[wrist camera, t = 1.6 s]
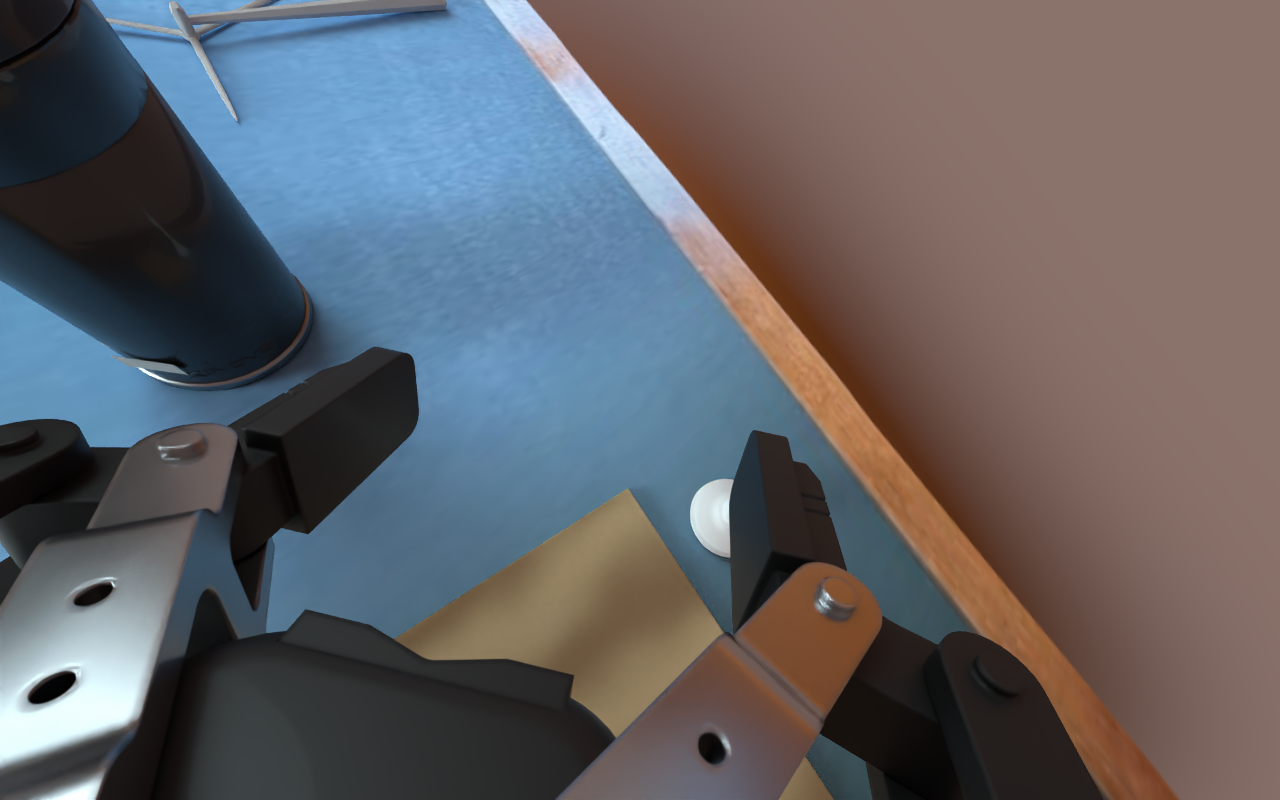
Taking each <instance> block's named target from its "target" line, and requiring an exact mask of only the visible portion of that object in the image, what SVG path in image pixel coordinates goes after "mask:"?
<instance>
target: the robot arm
mask: <svg viewBox="0 0 1280 800" xmlns="http://www.w3.org/2000/svg"><path fill="white" fill-rule="evenodd" d="M0 280H1V281H2V282H4V283H5V284H7V285H9V286H10V287H12V288H14V289H15V290H17V291H18V292H20V293H22V294H23V295H25V296H26V297H28V298H30V299H31V300H33V301H35V302H36V303H38V304H39V305H41V306H43V307H44V308H46V309H48V310H49V311H51V312H52V313H54V314H56V315H57V316H59V317H60V318H62V319H64V320H65V321H67V322H69V323H70V324H72V325H73V326H75V327H77V328H78V329H80V330H82V331H83V332H85V333H86V334H88V335H90V336H91V337H93V338H94V339H96V340H97V341H99V342H101V343H102V344H104V345H105V346H107V347H109V348H110V349H112V350H114V351H115V352H117V353H118V354H120V355H122V356H123V357H125V358H122V357H116V356H112V357H113V358H115V359H117V360H119V361H120V362H122V363H124V364H125V365H127V366H130V367H137V368H140V369H141V370H142V371H144V372H145V373H147V374H148V375H150V376H152V377H153V378H155V379H157V380H159V381H161V382H163V383H165V384H168V385H170V386H174V387H177V388H182V389H187V390H197V391H211V390H222V389H228V388H233V387H237V386H241V385H245V384H248V383H250V382H253V381H256V380H258V379H260V378H262V377H264V376H266V375H268V374H270V373H272V372H273V371H275V370H277V369H278V368H280V367H281V366H282V365H284V364H285V363H286V362H287V361H288V360H290V359H291V358H292V357H293V356H294V355H295V354H296V353H297V351H298V350H299V349H300V348H301V346H302V345H303V343H304V342H305V340H306V338H307V336H308V334H309V331H310V329H311V325H312V319H313V309H312V303H311V300H310V298H309V295H308V293H307V292H306V290H305V289H304V287H303V286H302V284H301V283H300V282H299V280H298V279H297V278H296V277H295V276H294V275H293V274H292V273H291V272H290V271H289V269H288V268H287V267H286V265H285V264H284V263H283V261H282V260H281V258H280V257H279V256H278V254H277V253H276V251H275V250H274V248H273V247H272V246H271V244H270V243H269V241H268V240H267V239H266V237H265V236H264V235H263V233H262V232H261V230H260V229H259V228H258V226H257V225H256V224H255V222H254V221H253V220H252V218H251V217H250V215H249V214H248V213H247V211H246V210H245V209H244V207H243V206H242V204H241V203H240V202H239V200H238V199H237V198H236V196H235V195H234V194H233V192H232V191H231V189H230V188H229V187H228V185H227V184H226V183H225V181H224V180H223V178H222V177H221V176H220V174H219V173H218V172H217V170H216V169H215V168H214V166H213V165H212V163H211V162H210V161H209V159H208V158H207V157H206V155H205V154H204V152H203V151H202V150H201V148H200V147H199V146H198V144H197V143H196V142H195V140H194V139H193V137H192V136H191V135H190V133H189V132H188V131H187V129H186V128H185V126H184V125H183V124H182V122H181V121H180V120H179V118H178V117H177V115H176V114H175V113H174V111H173V110H172V109H171V107H170V106H169V105H168V103H167V102H166V100H165V99H164V98H163V96H162V95H161V94H160V92H159V91H158V89H157V88H156V87H155V85H154V84H153V83H152V81H151V80H150V79H149V77H148V76H147V74H146V73H145V72H144V70H143V69H142V68H141V66H140V65H139V63H138V62H137V61H136V59H135V58H134V57H133V56H132V55H131V53H130V52H129V50H128V49H127V48H126V46H125V45H124V44H123V42H122V41H121V40H120V38H119V37H118V35H117V34H116V33H115V31H114V30H113V29H112V27H111V26H110V24H109V23H108V22H107V20H106V19H105V18H104V16H103V15H102V13H101V12H100V11H99V9H98V8H97V7H96V5H95V4H94V2H93V1H92V0H0ZM418 416H419V406H418V395H417V385H416V374H415V364H414V360H413V358H412V356H411V355H410V354H408V353H403V352H399V351H394V350H390V349H385V348H380V347H373V348H370V349H369V350H367V351H365V352H364V353H362V354H360V355H359V356H357V357H356V358H354V359H352V360H351V361H349V362H346V363H343V364H340V365H337V366H334V367H330V368H327V369H324V370H322V371H320V372H318V373H317V374H315V375H313V376H312V377H310V378H308V379H307V380H305V381H304V383H303V384H298V385H296V386H295V387H293V388H291V389H289V390H288V392H287V394H286V393H283V394H281V395H279V396H278V397H276V398H274V399H272V400H271V401H269V402H267V403H266V404H264V405H262V406H261V407H259V408H257V409H255V410H254V411H252V412H250V413H249V414H247V415H245V416H244V417H242V418H240V419H238V420H237V421H235V422H233V423H232V424H230V425H228V426H225V425H221V424H214V423H197V424H188V425H182V426H177V427H173V428H169V429H165V430H162V431H160V432H157V433H154V434H152V435H150V436H147V437H146V438H144V439H142V440H140V441H139V442H137V443H136V444H134V445H133V446H132V447H131V448H121V447H89V445H88V443H87V441H86V439H85V437H84V436H83V434H82V432H81V430H80V428H79V427H78V426H77V425H76V424H74V423H72V422H69V421H65V420H58V419H37V420H27V421H21V422H14V423H10V424H5V425H1V426H0V543H1V544H2V546H3V547H4V548H5V550H6V551H7V552H8V554H9V555H10V557H8V558H6V559H5V560H3V561H2V562H0V800H779V798H780V796H781V795H782V793H783V791H784V790H785V788H786V787H787V785H788V783H789V782H790V780H791V778H792V777H793V775H794V774H795V772H796V770H797V769H798V767H799V765H800V764H801V762H802V760H803V759H804V757H805V756H806V754H807V752H808V751H809V749H810V747H811V746H812V744H813V742H814V741H815V739H816V738H817V736H818V734H819V733H820V734H821V735H823V736H825V737H826V738H828V739H830V740H831V741H833V742H835V743H836V744H838V745H840V746H841V747H843V748H845V749H846V750H848V751H849V752H851V753H853V754H854V755H856V756H858V757H859V758H861V759H863V760H864V761H866V767H867V772H868V777H869V783H870V788H871V793H872V798H873V800H1103V798H1102V796H1101V794H1100V792H1099V791H1098V789H1097V787H1096V785H1095V783H1094V781H1093V779H1092V778H1091V776H1090V774H1089V772H1088V770H1087V768H1086V767H1085V765H1084V763H1083V761H1082V759H1081V757H1080V755H1079V754H1078V752H1077V750H1076V748H1075V746H1074V744H1073V742H1072V741H1071V739H1070V737H1069V735H1068V733H1067V731H1066V730H1065V728H1064V726H1063V724H1062V722H1061V720H1060V718H1059V717H1058V715H1057V713H1056V711H1055V709H1054V707H1053V706H1052V704H1051V702H1050V700H1049V698H1048V696H1047V694H1046V693H1045V691H1044V689H1043V688H1042V686H1041V684H1040V683H1039V682H1038V680H1037V679H1036V678H1035V676H1034V675H1033V674H1032V673H1031V672H1030V671H1029V670H1028V668H1027V667H1026V666H1025V665H1024V664H1022V663H1021V662H1020V661H1019V660H1018V659H1017V658H1016V657H1015V656H1013V655H1012V654H1011V653H1010V652H1008V651H1007V650H1006V649H1004V648H1003V647H1001V646H1000V645H998V644H996V643H994V642H993V641H991V640H989V639H987V638H985V637H982V636H980V635H977V634H974V633H969V632H961V631H958V632H952V633H950V634H948V635H947V636H946V637H944V638H943V640H942V641H941V642H940V643H939V644H938V645H937V644H935V643H933V642H931V641H929V640H927V639H925V638H923V637H921V636H919V635H917V634H915V633H913V632H911V631H909V630H907V629H905V628H903V627H901V626H899V625H897V624H895V623H893V622H891V621H890V620H888V619H886V618H885V617H884V616H882V613H881V610H880V606H879V604H878V602H877V600H876V599H875V597H874V596H873V594H872V593H871V592H870V590H869V589H868V588H867V587H866V586H865V585H864V584H863V583H862V582H861V581H860V580H859V579H857V578H856V577H855V576H853V575H852V574H850V573H849V572H847V569H846V565H845V562H844V559H843V555H842V552H841V549H840V545H839V542H838V539H837V536H836V532H835V529H834V526H833V522H832V519H831V517H829V515H830V512H829V509H828V506H827V502H825V496H824V492H823V489H822V486H821V482H820V480H819V479H818V478H817V477H816V475H815V474H814V473H813V472H812V471H811V469H810V468H809V467H808V466H807V464H804V463H799V462H795V461H793V459H792V455H791V450H790V446H789V442H788V439H787V437H784V436H779V435H775V434H770V433H765V432H761V431H756V430H753V431H752V432H751V434H750V436H749V439H748V442H747V444H746V447H745V450H744V453H743V456H742V459H741V462H740V464H739V467H738V470H737V473H736V476H735V479H734V482H733V485H732V489H731V494H730V500H729V529H730V559H731V590H732V620H733V635H731V634H730V633H729V632H724V633H723V634H721V635H720V636H719V637H717V638H716V639H715V640H714V641H713V642H712V643H711V644H710V645H709V646H708V647H707V648H706V649H705V650H704V651H703V652H702V653H701V654H700V655H699V656H698V657H697V658H696V659H695V660H694V661H693V662H692V663H691V664H690V665H689V666H688V667H687V668H686V669H685V670H684V671H683V672H682V673H681V674H680V675H679V676H678V677H677V678H676V679H675V680H674V681H673V682H672V683H671V684H670V685H669V686H668V687H667V688H666V689H665V690H664V691H663V692H662V693H661V694H660V695H659V696H658V697H657V698H656V699H655V700H654V701H653V702H652V703H651V704H650V705H649V706H648V707H647V708H646V709H645V710H644V711H643V712H642V713H641V714H640V715H639V716H638V717H637V718H636V719H635V720H634V721H633V722H632V723H631V724H630V725H629V726H628V727H627V728H626V729H625V730H624V731H623V732H622V733H621V734H620V735H619V736H618V737H617V738H616V737H615V736H614V734H613V733H612V732H611V730H610V729H609V728H608V727H607V726H606V725H605V724H604V723H603V722H602V721H601V720H600V719H599V718H598V717H597V716H596V715H595V714H594V713H593V712H591V711H590V710H589V709H588V708H586V707H585V706H584V705H582V704H581V703H579V702H577V701H576V700H574V699H572V698H571V692H572V686H573V680H574V675H572V674H568V673H564V672H560V671H555V670H551V669H547V668H543V667H539V666H535V665H531V664H527V663H523V662H519V661H515V660H511V659H467V660H430V659H426V658H424V657H422V656H420V655H418V654H417V653H415V652H413V651H412V650H410V649H409V648H407V647H405V646H404V645H402V644H400V643H399V642H397V641H395V640H394V639H392V638H391V637H389V636H387V635H386V634H384V633H382V632H381V631H379V630H377V629H376V628H374V627H372V626H371V625H368V624H363V623H359V622H355V621H351V620H347V619H343V618H339V617H335V616H331V615H327V614H323V613H318V612H314V611H310V610H306V609H305V611H304V612H303V613H302V614H301V615H300V616H299V617H298V619H297V620H296V621H295V622H294V623H293V624H292V625H291V627H290V628H289V629H288V630H287V631H281V632H273V633H266V622H267V613H268V604H269V595H270V586H271V577H272V568H273V559H274V550H275V547H274V542H273V539H272V536H273V535H274V534H275V533H276V532H277V531H278V530H279V529H281V528H284V529H288V530H292V531H297V532H301V533H305V534H309V533H310V532H311V531H312V530H313V529H314V528H315V527H316V526H317V525H318V524H319V523H320V522H321V521H323V520H324V519H325V518H326V517H327V516H328V515H329V514H330V513H331V512H332V511H333V510H334V509H335V508H336V507H337V506H338V505H339V504H340V503H341V502H342V501H343V500H344V499H345V498H346V497H347V496H348V495H349V494H350V493H351V492H352V491H353V490H355V489H356V488H357V487H358V486H359V485H360V484H361V483H362V482H363V481H364V480H365V479H366V478H367V477H368V476H369V475H370V474H371V473H372V472H373V471H374V470H375V469H376V468H377V467H378V466H379V465H380V464H381V463H382V462H383V461H384V460H385V459H386V458H388V457H389V456H390V455H391V454H392V453H393V452H394V451H395V450H396V449H397V448H398V447H399V446H400V445H401V444H402V443H403V442H404V441H405V440H406V439H407V438H408V437H409V436H410V435H411V434H412V432H413V431H414V429H415V427H416V424H417V421H418Z"/></svg>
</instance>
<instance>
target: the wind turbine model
mask: <svg viewBox="0 0 1280 800" xmlns="http://www.w3.org/2000/svg"><path fill="white" fill-rule="evenodd" d="M271 1H273V0H255V1H253V2H251V3H248V4H246V5H244V6H242V7H240V8H238V9H236V10H233V11H224V12H215V13H206V14H197V15H188V16H187V15H186V13H185V11H184V10H183V8H182V7H181V6H180V5H179V4H178V3H177V2H174V1H171V2H169V6H170V11H171V13H172V15H173V17H174V19H175V21H176V22H177V24H178V26H179V28H180V29H181V30H176V29H170V28H164V27H158V26H152V25H146V24H140V23H134V22H128V21H122V20H116V19H110V18H105V19H106V20H107V22H108V23H112V24H117V25H122V26H128V27H133V28H139V29H144V30H149V31H154V32H160V33H165V34H170V35H176V36H181V37H184V39H186V40H188V41H190V42H191V44H192V46H193V48H194V50H195V51H196V53H197V55H198V57H199V59H200V60H201V62H202V64H203V66H204V68H205V69H206V71H207V73H208V75H209V77H210V78H211V80H212V82H213V84H214V86H215V87H216V89H217V91H218V93H219V94H220V96H221V98H222V100H223V101H224V103H225V105H226V106H227V108H228V110H229V111H230V113H231V114H232V116H233V117H234V118H235V120H236V121H238V119H237V116H236V113H235V111H234V109H233V107H232V104H231V102H230V100H229V98H228V96H227V94H226V92H225V90H224V88H223V86H222V84H221V82H220V81H219V79H218V77H217V75H216V73H215V71H214V69H213V67H212V65H211V63H210V61H209V60H208V58H207V56H206V54H205V52H204V50H203V48H202V46H201V44H200V42H199V39H200V37H201V36H200V35H202V34H204V33H207V32H209V31H211V30H213V29H215V28H217V27H219V26H222V25H224V24H226V23H236V22H253V21H269V20H286V19H302V18H319V17H336V16H352V15H369V14H385V13H402V12H419V11H435V10H446V6H447V3H446V0H326V1H317V2H307V3H298V4H289V5H280V6H271V7H261V6H263V5H265V4H267V3H269V2H271ZM259 7H261V8H259ZM203 24H204V25H203ZM192 25H202V26H200V27H198V28H196V29H194V28H193V26H192Z"/></svg>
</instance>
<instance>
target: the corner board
mask: <svg viewBox="0 0 1280 800" xmlns="http://www.w3.org/2000/svg"><path fill="white" fill-rule="evenodd" d="M721 634H723V631H722V630H721V628H720V627H719V625H718V623H717V622H716V620H715V619H714V617H713V616H712V614H711V613H710V611H709V610H708V608H707V607H706V605H705V604H704V602H703V601H702V599H701V598H700V596H699V595H698V593H697V592H696V590H695V589H694V587H693V586H692V584H691V583H690V581H689V580H688V578H687V577H686V575H685V574H684V572H683V571H682V569H681V568H680V566H679V565H678V563H677V561H676V560H675V558H674V557H673V555H672V554H671V552H670V551H669V549H668V548H667V546H666V545H665V543H664V542H663V540H662V539H661V537H660V536H659V534H658V533H657V531H656V530H655V528H654V527H653V525H652V524H651V522H650V521H649V519H648V518H647V516H646V515H645V513H644V512H643V510H642V509H641V507H640V506H639V504H638V503H637V501H636V499H635V498H634V496H633V495H632V493H631V492H630V490H629V489H626V490H624V491H623V492H621V493H620V494H618V495H617V496H615V497H613V498H612V499H610V500H609V501H607V502H606V503H604V504H603V505H601V506H600V507H598V508H596V509H595V510H593V511H592V512H590V513H589V514H587V515H586V516H584V517H582V518H581V519H579V520H578V521H576V522H575V523H573V524H572V525H570V526H569V527H567V528H565V529H564V530H562V531H561V532H559V533H558V534H556V535H555V536H553V537H552V538H550V539H548V540H547V541H545V542H544V543H542V544H541V545H539V546H538V547H536V548H534V549H533V550H531V551H530V552H528V553H527V554H525V555H524V556H522V557H521V558H519V559H517V560H516V561H514V562H513V563H511V564H510V565H508V566H507V567H505V568H503V569H502V570H500V571H499V572H497V573H496V574H494V575H493V576H491V577H490V578H488V579H486V580H485V581H483V582H482V583H480V584H479V585H477V586H476V587H474V588H473V589H471V590H469V591H468V592H466V593H465V594H463V595H462V596H460V597H459V598H457V599H455V600H454V601H452V602H451V603H449V604H448V605H446V606H445V607H443V608H442V609H440V610H438V611H437V612H435V613H434V614H432V615H431V616H429V617H428V618H426V619H424V620H423V621H421V622H420V623H418V624H417V625H415V626H414V627H412V628H411V629H409V630H407V631H406V632H404V633H403V634H401V635H400V636H398V637H397V638H395V639H394V640H395V641H397V642H399V643H400V644H402V645H404V646H405V647H407V648H409V649H410V650H412V651H413V652H415V653H417V654H418V655H420V656H422V657H424V658H426V659H430V660H467V659H511V660H515V661H519V662H523V663H527V664H531V665H535V666H539V667H543V668H547V669H551V670H555V671H560V672H564V673H568V674H572V675H574V680H573V686H572V692H571V698H572V699H574V700H576V701H577V702H579V703H581V704H582V705H584V706H585V707H586V708H588V709H589V710H590V711H591V712H593V713H594V714H595V715H596V716H597V717H598V718H599V719H600V720H601V721H602V722H603V723H604V724H605V725H606V726H607V727H608V728H609V729H610V730H611V732H612V733H613V734H614V736H615V737H616V738H617V737H618V736H619V735H620V734H621V733H622V732H623V731H624V730H625V729H626V728H627V727H628V726H629V725H630V724H631V723H632V722H633V721H634V720H635V719H636V718H637V717H638V716H639V715H640V714H641V713H642V712H643V711H644V710H645V709H646V708H647V707H648V706H649V705H650V704H651V703H652V702H653V701H654V700H655V699H656V698H657V697H658V696H659V695H660V694H661V693H662V692H663V691H664V690H665V689H666V688H667V687H668V686H669V685H670V684H671V683H672V682H673V681H674V680H675V679H676V678H677V677H678V676H679V675H680V674H681V673H682V672H683V671H684V670H685V669H686V668H687V667H688V666H689V665H690V664H691V663H692V662H693V661H694V660H695V659H696V658H697V657H698V656H699V655H700V654H701V653H702V652H703V651H704V650H705V649H706V648H707V647H708V646H709V645H710V644H711V643H712V642H713V641H714V640H715V639H716V638H717V637H719V636H720V635H721ZM779 800H834V799H833V797H832V796H831V794H830V793H829V791H828V790H827V788H826V787H825V785H824V784H823V782H822V781H821V779H820V778H819V776H818V775H817V773H816V772H815V770H814V769H813V767H812V766H811V764H810V763H809V761H808V760H807V758H806V757H804V759H803V760H802V762H801V764H800V765H799V767H798V769H797V770H796V772H795V774H794V775H793V777H792V778H791V780H790V782H789V783H788V785H787V787H786V788H785V790H784V791H783V793H782V795H781V796H780V798H779Z"/></svg>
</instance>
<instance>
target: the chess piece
mask: <svg viewBox="0 0 1280 800" xmlns="http://www.w3.org/2000/svg"><path fill="white" fill-rule="evenodd" d="M733 482H734V480H731V479H719V480H715V481H712V482H709V483H707V484H706V485H704V486H703V487H702V488H700V489H699V491H698V492H697V493H696V495H695V496H694V498H693V501H692V504H691V508H690V520H691V525H692V528H693V531H694V533H695V535H696V537H697V538H698V540H699V541H700V542H701V544H702V545H703V546H704V547H705V548H707V549H708V550H709V551H711V552H713V553H715V554H717V555H719V556H723V557H730V529H729V500H730V494H731V489H732V485H733Z"/></svg>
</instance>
